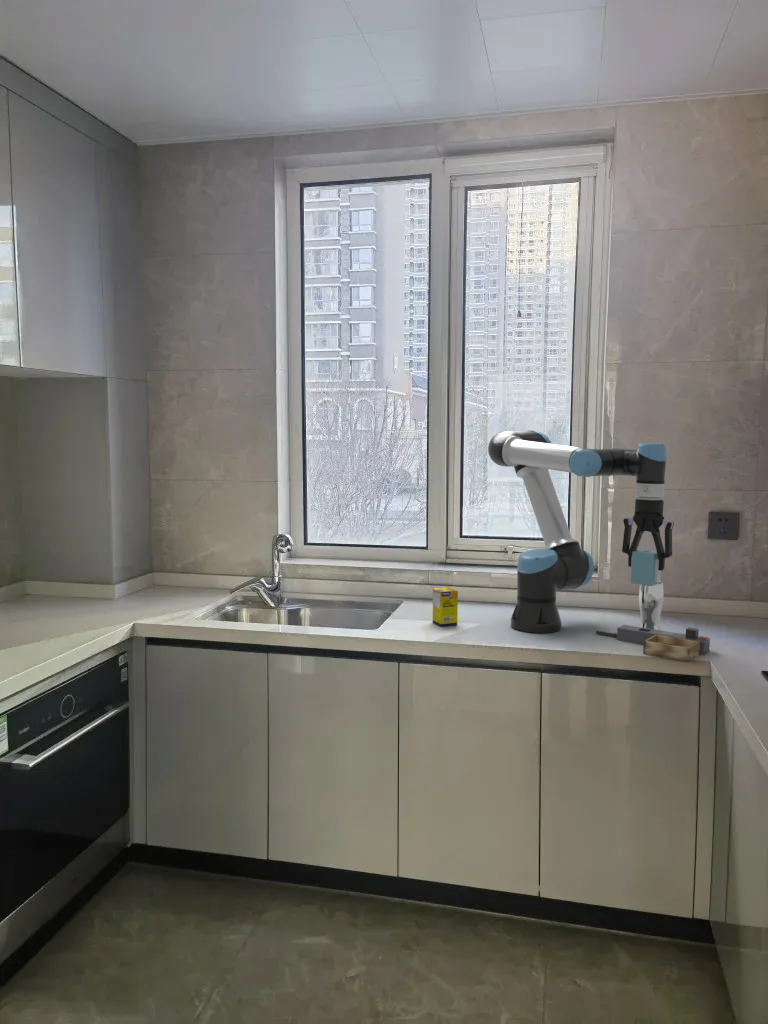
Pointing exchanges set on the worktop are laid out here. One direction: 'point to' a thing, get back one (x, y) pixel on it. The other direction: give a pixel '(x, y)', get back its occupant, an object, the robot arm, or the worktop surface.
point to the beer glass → (651, 606)
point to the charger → (643, 568)
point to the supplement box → (445, 606)
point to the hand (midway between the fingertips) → (645, 579)
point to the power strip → (642, 634)
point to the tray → (671, 648)
